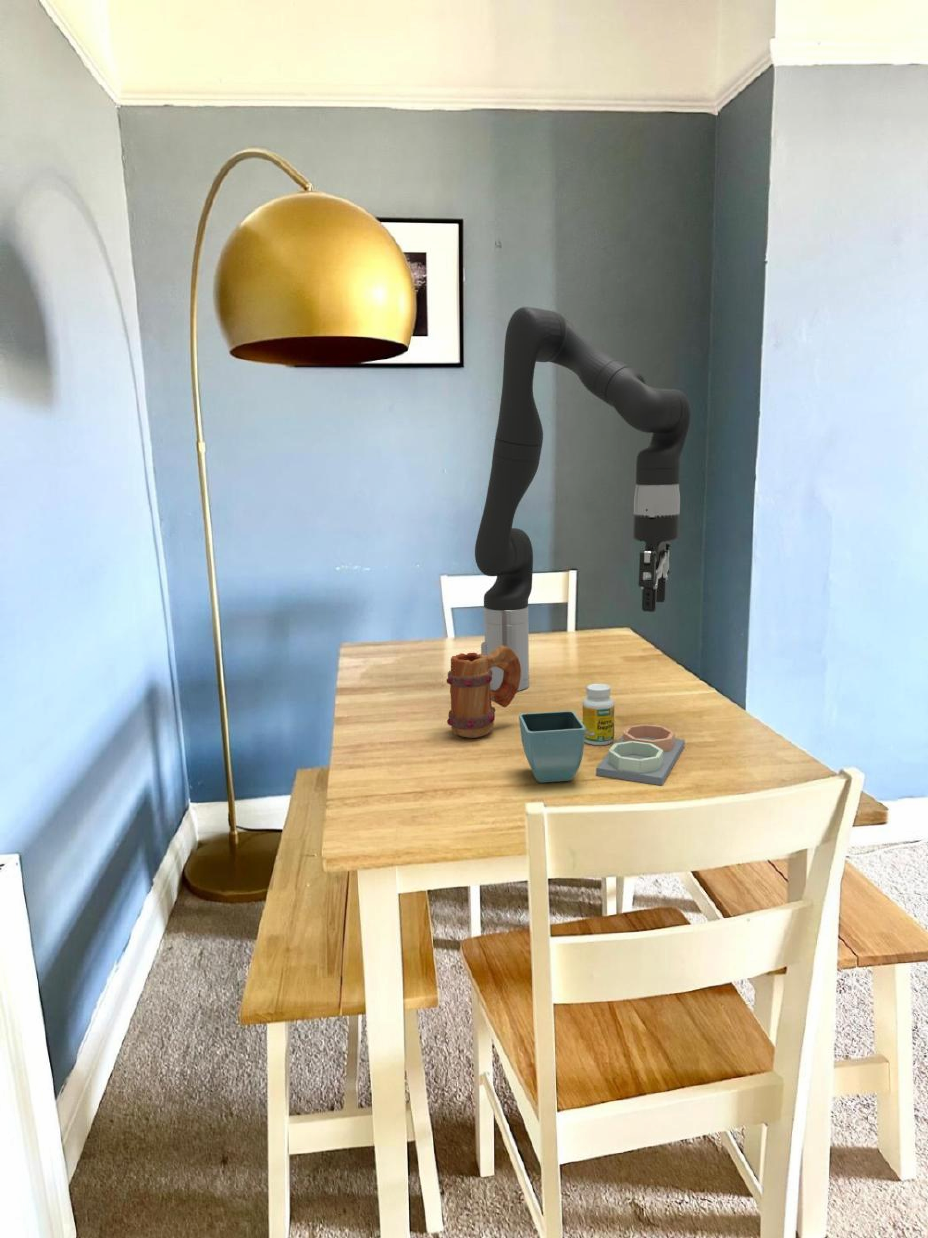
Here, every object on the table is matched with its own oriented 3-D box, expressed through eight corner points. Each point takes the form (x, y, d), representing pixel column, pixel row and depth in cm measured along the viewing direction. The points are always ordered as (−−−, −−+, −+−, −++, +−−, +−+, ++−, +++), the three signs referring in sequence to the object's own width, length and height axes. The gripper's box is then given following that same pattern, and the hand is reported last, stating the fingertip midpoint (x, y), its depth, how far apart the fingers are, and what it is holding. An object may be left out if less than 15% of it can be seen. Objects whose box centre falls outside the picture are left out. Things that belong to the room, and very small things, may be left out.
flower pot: (518, 767, 125) (517, 712, 123) (573, 763, 126) (573, 709, 124) (527, 790, 116) (526, 732, 115) (586, 786, 117) (586, 728, 115)
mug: (458, 746, 134) (455, 660, 131) (437, 731, 142) (434, 650, 139) (531, 730, 141) (530, 648, 138) (508, 717, 148) (506, 639, 145)
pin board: (596, 775, 121) (596, 755, 120) (625, 738, 136) (625, 720, 135) (662, 785, 116) (662, 765, 116) (684, 746, 131) (685, 728, 131)
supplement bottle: (599, 732, 139) (599, 680, 137) (620, 741, 135) (621, 687, 133) (575, 739, 136) (575, 685, 134) (597, 748, 132) (597, 693, 130)
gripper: (642, 508, 141) (640, 597, 144) (624, 514, 128) (622, 613, 131) (686, 508, 138) (682, 600, 141) (671, 515, 125) (668, 615, 128)
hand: (653, 606), depth 136 cm, fingers open, 8 cm apart
